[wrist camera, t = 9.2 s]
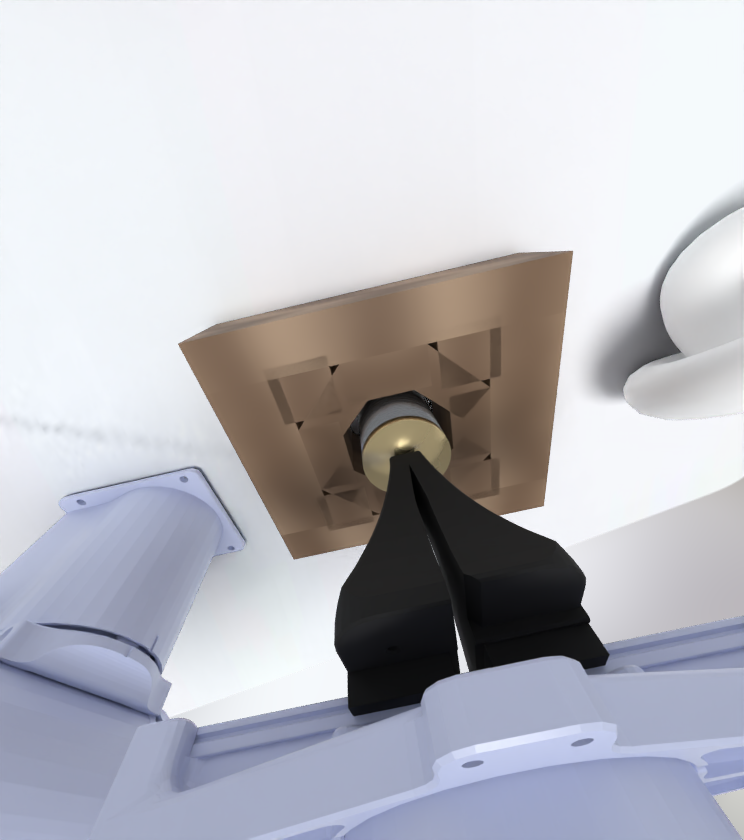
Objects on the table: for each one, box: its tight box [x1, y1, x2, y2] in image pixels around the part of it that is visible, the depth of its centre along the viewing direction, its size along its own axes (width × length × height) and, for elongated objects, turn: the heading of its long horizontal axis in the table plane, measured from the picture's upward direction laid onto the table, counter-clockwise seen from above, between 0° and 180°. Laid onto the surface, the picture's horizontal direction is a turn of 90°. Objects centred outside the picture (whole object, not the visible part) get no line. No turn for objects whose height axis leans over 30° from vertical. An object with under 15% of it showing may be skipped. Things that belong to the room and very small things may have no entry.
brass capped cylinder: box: [358, 390, 451, 491], centre depth 16 cm, size 4×4×6 cm
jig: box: [178, 251, 573, 559], centre depth 17 cm, size 16×14×4 cm
